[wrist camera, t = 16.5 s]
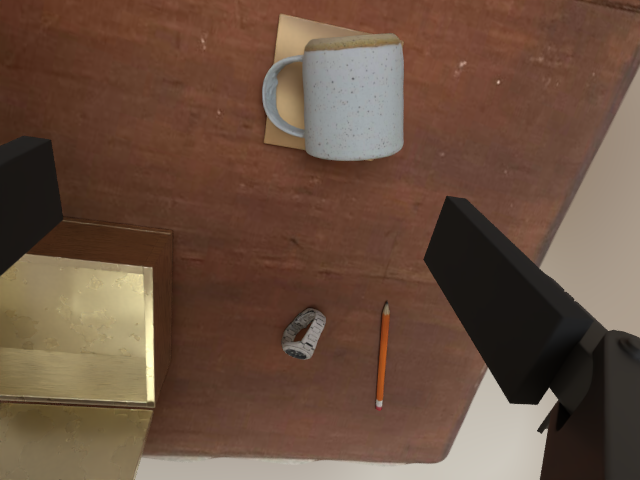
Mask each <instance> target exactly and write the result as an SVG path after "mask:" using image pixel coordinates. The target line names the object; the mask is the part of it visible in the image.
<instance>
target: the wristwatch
mask: <svg viewBox="0 0 640 480" xmlns="http://www.w3.org/2000/svg"><path fill="white" fill-rule="evenodd" d="M311 322H312V324H311V326H310V328H309V329H308V331H307V332H306V334H305V336H304V337H303V339H302V340H301V341H298V342H293V340H294V338H295V336H296V334H297V333H298V332H299V331H300V330H301V329H302V328H306V327H307V325H308V324H310V323H311ZM325 322H326V317H325V316H324V315H323V314H322V313H321V312H320V311H318V310H315V309H312V308H307V309H306V310H305V311H303V312H302V313H300V314H298V315H297V317H296V318H295V319H294V320H293V322H292V323H290V324H289V326H288V327H287V328H286V329H285V331H284V334H283V337H282V341H281V342H282V348H283V350H284V351H285V352H286V353H287V354H288V355H290V356H292V357H295V358H298V359H309V358H311V356H312V354H313V352H314V349H315V348H316V345H317V341H318V339H319V337H320V334H321V332H322V330H323V328H324V325H325Z"/></svg>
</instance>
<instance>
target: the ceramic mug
mask: <svg viewBox="0 0 640 480" xmlns="http://www.w3.org/2000/svg"><path fill="white" fill-rule="evenodd" d="M299 61H300V62H303V64H302V75H303V88H304V125H305V130H304V129H300V128H296V127H294V126H292V125H290V124H288V123H287V122H286V121H284V120H283V119H282V118H281V117H280V115H279V113H278V110H277V107H276V87H277V85H278V80H277V75H278V73H279V72H280V71H281V70H282V69H283V68H284V67H285V66H286V65H288V64H291V63H293V62H299ZM403 78H404V62H403V52H402V46H401V42H400V40H399V38H398V37H397V36H396V35H395V34H392V33H389V34H373V35H356V36H345V37H332V38H319V39H312V40H310V41H309V42H308V44H307V45H306V46H305V50H304V55H297V56H291V57H287V58H284V59H282V60H280V61H278V62H277V63H275V64H274V65H273V66H272V67H271V68H270V70H269V71H268V73H267V74H266V76H265V79H264V83H263V88H262V98H263V106H264V110H265V112H266V114H267V116H268V118H269V119H270V120H271V122H272V123H273V124H274V125H275V126H276V127H278V128H279V129H280V130H282V131H284V132H286V133H288V134H290V135H293V136H296V137H301V138H305V149H306V152H307V153H308V154H310V155H312V156H314V157H317V158H321V159H326V160H337V161H359V160H369V159H376V158H382V157H387V156H390V155H393V154H395V153H396V152H398V151H400V150H401V149H402V146H403Z"/></svg>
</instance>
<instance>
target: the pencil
mask: <svg viewBox="0 0 640 480" xmlns="http://www.w3.org/2000/svg"><path fill="white" fill-rule="evenodd" d="M389 318H390V311H389V306H388V302H386V304H385V307H384V310H383V313H382V327H381V341H380V355H379V369H378V383H377V397H376V409H377V410H379V411H380V410H381V409H382V402H383V390H384V378H385V366H386V354H387V342H388V330H389Z"/></svg>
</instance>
